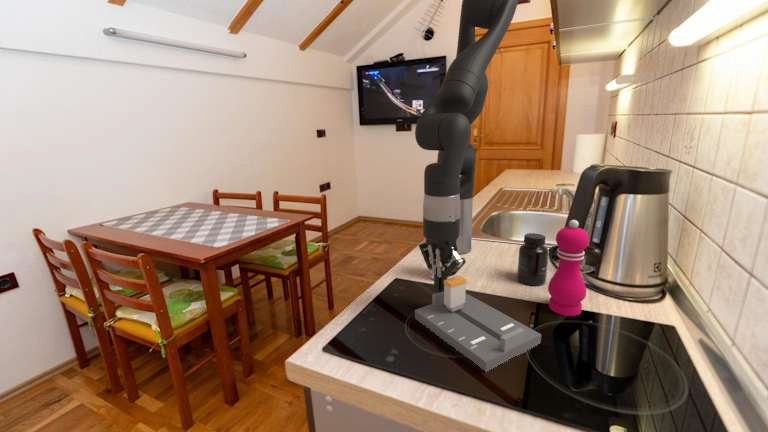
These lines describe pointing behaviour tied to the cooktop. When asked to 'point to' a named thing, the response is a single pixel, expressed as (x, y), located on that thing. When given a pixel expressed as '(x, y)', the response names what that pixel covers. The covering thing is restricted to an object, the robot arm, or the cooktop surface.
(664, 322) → the cooktop surface
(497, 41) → the robot arm
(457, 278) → the fader knob
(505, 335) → the fader console
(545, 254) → the supplement bottle
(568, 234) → the pepper mill
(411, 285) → the cooktop surface
